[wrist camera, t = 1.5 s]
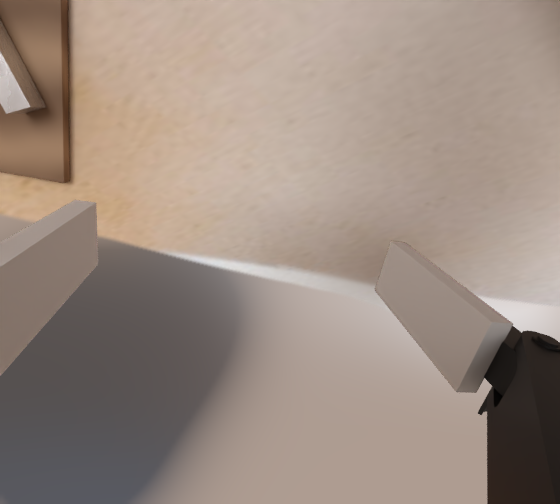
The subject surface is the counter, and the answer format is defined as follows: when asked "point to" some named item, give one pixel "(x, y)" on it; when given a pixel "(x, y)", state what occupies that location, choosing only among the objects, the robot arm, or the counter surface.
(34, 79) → the board
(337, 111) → the counter surface
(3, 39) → the tong arm
